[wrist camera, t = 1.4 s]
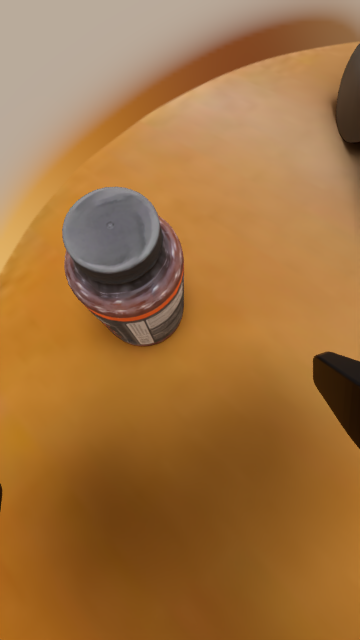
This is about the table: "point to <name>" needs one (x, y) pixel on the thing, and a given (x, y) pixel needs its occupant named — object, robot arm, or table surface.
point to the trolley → (350, 100)
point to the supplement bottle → (125, 264)
